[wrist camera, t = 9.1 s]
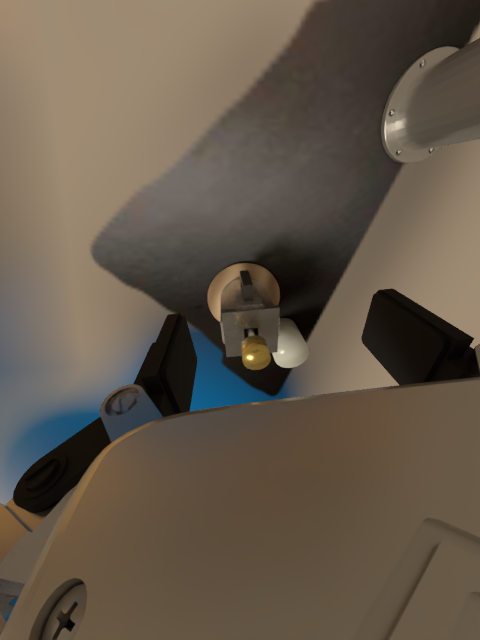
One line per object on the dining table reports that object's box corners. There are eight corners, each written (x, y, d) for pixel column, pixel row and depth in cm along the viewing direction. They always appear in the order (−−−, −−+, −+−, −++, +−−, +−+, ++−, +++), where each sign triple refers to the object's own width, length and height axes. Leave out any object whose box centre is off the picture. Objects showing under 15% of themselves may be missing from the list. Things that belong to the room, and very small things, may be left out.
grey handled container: (267, 262, 42) (284, 288, 31) (267, 317, 49) (280, 354, 38) (216, 266, 42) (214, 294, 31) (223, 321, 49) (223, 359, 38)
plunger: (262, 284, 43) (284, 336, 28) (262, 316, 47) (281, 375, 32) (225, 288, 43) (228, 341, 28) (228, 319, 47) (232, 380, 32)
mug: (297, 316, 51) (311, 339, 43) (294, 346, 56) (306, 371, 48) (266, 319, 50) (274, 342, 43) (266, 348, 55) (273, 374, 48)
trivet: (280, 259, 43) (281, 260, 42) (277, 324, 51) (278, 326, 51) (202, 266, 42) (202, 267, 42) (212, 330, 51) (212, 332, 50)
